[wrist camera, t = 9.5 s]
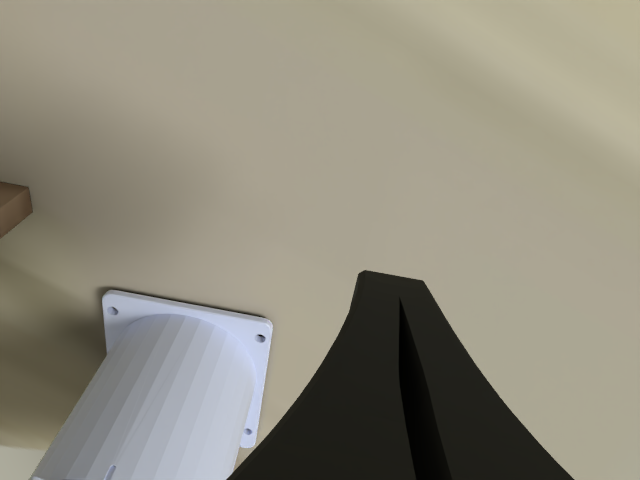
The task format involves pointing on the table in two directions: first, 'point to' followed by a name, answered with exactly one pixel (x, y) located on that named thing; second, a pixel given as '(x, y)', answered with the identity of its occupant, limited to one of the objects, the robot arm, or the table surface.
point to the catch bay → (13, 206)
